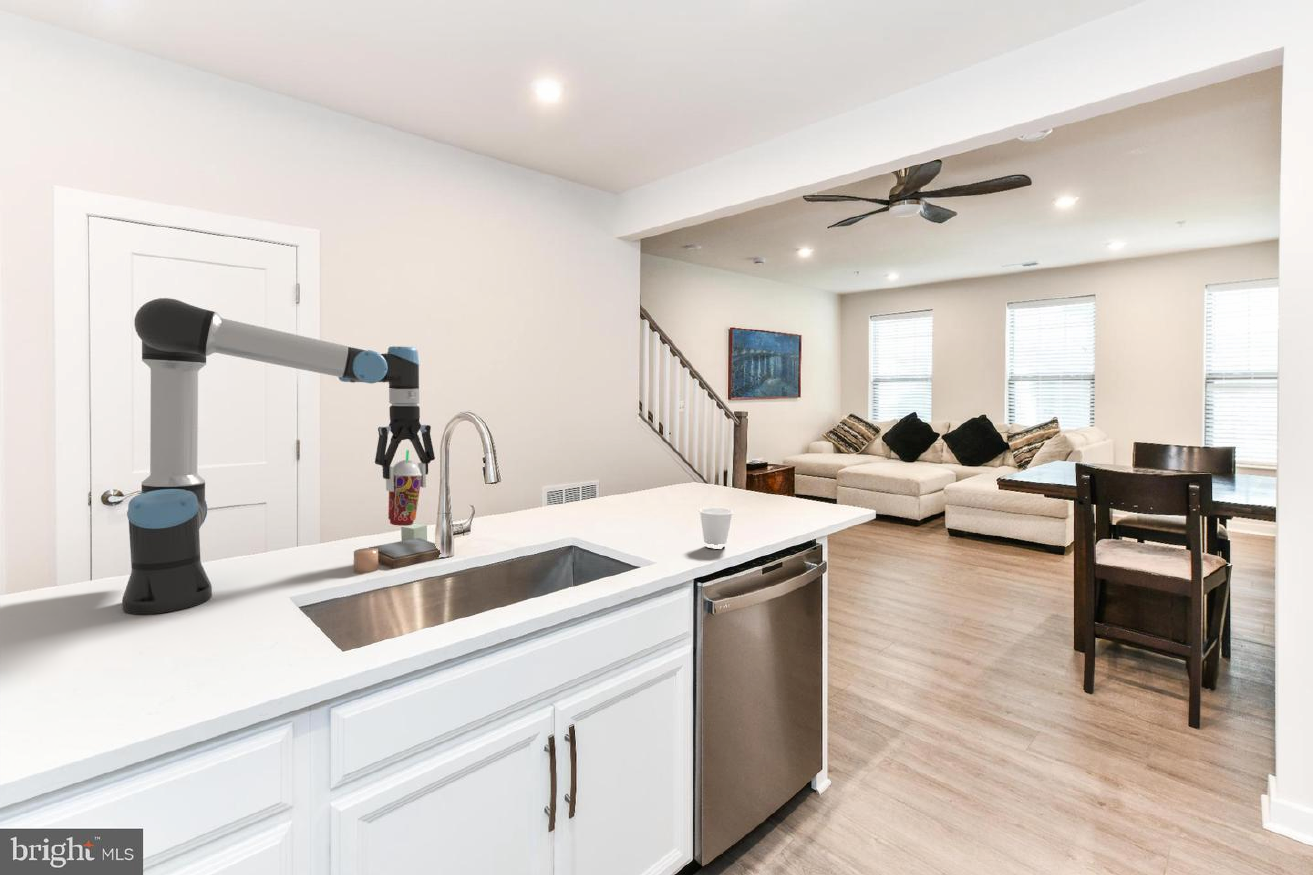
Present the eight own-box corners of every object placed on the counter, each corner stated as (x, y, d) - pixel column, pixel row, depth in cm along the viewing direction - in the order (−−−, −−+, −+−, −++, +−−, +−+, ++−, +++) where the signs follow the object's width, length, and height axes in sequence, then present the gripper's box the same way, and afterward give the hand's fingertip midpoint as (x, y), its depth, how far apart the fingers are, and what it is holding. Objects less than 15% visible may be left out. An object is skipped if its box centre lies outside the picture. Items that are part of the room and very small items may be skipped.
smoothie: (410, 527, 166) (416, 451, 166) (379, 524, 166) (385, 449, 166) (422, 523, 174) (429, 451, 174) (393, 520, 174) (399, 448, 174)
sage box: (414, 545, 184) (413, 528, 184) (401, 543, 186) (401, 526, 186) (427, 541, 188) (426, 525, 188) (414, 539, 191) (414, 523, 190)
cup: (692, 544, 189) (693, 508, 188) (720, 541, 193) (721, 506, 192) (708, 553, 180) (709, 515, 179) (738, 550, 184) (739, 513, 184)
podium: (393, 568, 161) (393, 558, 161) (364, 556, 171) (364, 547, 171) (449, 556, 173) (449, 547, 173) (419, 545, 183) (419, 536, 183)
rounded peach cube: (360, 574, 156) (359, 555, 155) (350, 570, 159) (349, 550, 159) (382, 569, 160) (382, 550, 160) (372, 565, 164) (371, 546, 163)
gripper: (371, 406, 158) (373, 495, 160) (448, 404, 174) (449, 485, 176) (358, 405, 163) (360, 491, 165) (433, 403, 179) (435, 482, 181)
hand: (406, 488), depth 170 cm, fingers closed on smoothie, 8 cm apart
